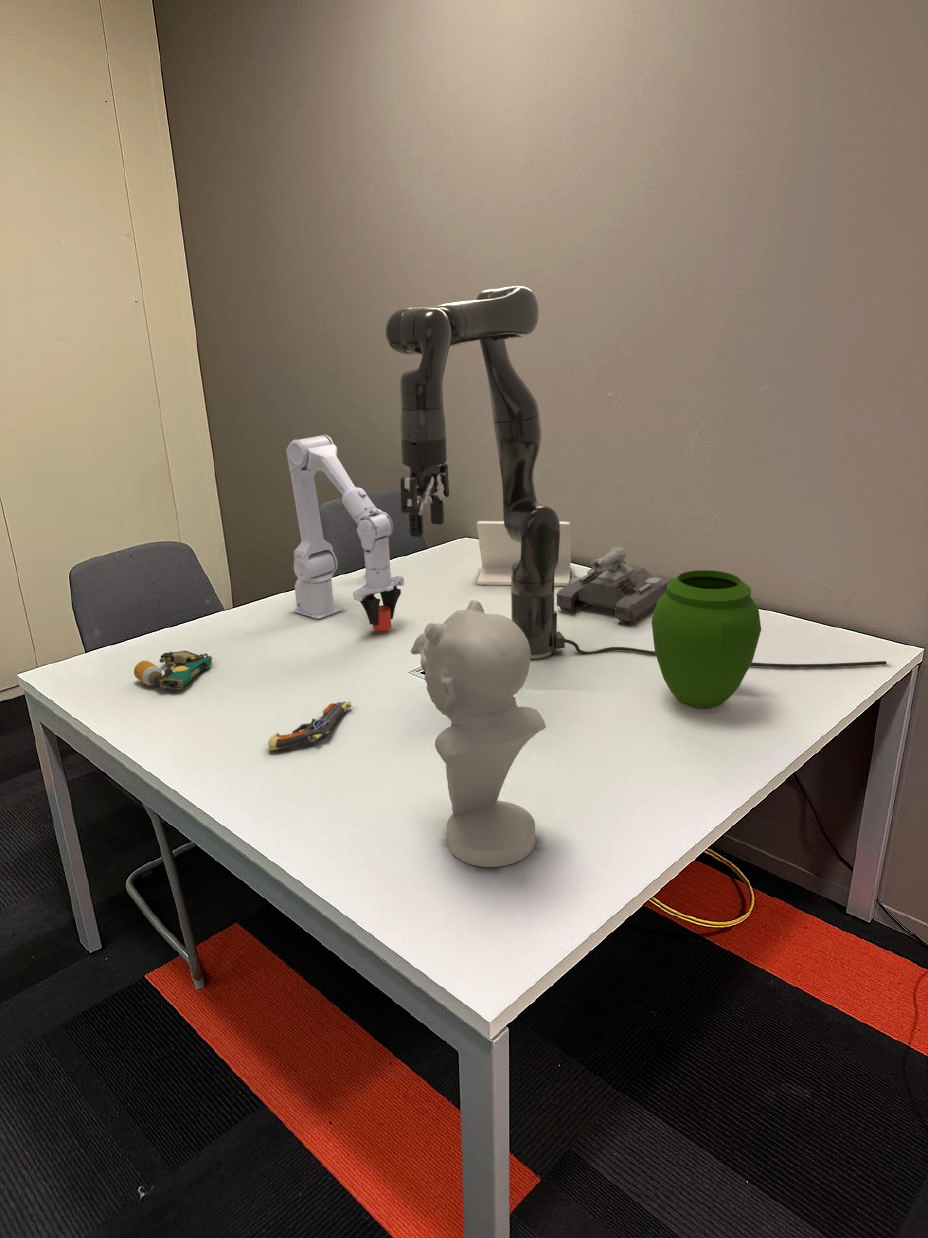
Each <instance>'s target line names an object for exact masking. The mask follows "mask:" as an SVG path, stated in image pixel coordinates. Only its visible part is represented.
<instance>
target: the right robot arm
mask: <svg viewBox="0 0 928 1238" xmlns="http://www.w3.org/2000/svg"><path fill="white" fill-rule="evenodd" d="M539 314H540V311H539V303H538V300H537V297H536V295H535V293H534V292H533V291H532V290H531V289H530V288H528V287H526V286H520V285H515V286H513V285H511V286H506V287H498V288H490V289H484V290H482V291H480V292H479V293H478V294H477V297H476V299H475V300H461V301H453V302H447V303H442V304H439V305H434V306H427V307H426V306H425V307H407V308H400V309H397V310H396V311H394V312H393V313H392V314H391V315H390V316H389V317H388V319H387V321H386V324H385V330H384V331H385V332H384V335H385V339H386V342H387V343H388V345H389V347H390V348H391V349H392V350H393V351H395V352H396V353H398V354H400V355H409V356H410V355H411V356H412V355H419V356H420V355H421V359H420V362H419V366H418V367H417V368H414V369H410V370H407V371H405V372H403V373H402V374H400V377H399V397H400V398H399V399H400V402H399V403H400V417H399V432H400V444H401V445H400V446H401V447H400V448H401V449H400V451H401V463H402V465H404V466H407V467H409V469H410V470H409V476H401V478H400V511H401V514H406V515H408V521H409V535H410V536H411V537H412V538H413V537H415V538H421V537H422V536H424V517H423V515H424V514H423V511H424V509H425V508H424V507H425V505H426V504H427V503H428V502H430V504H429V505H430V522H431V524H432V525H440V526H441V525H443V524H444V523H445V513H444V512H445V511H444V503H446V498H448V497H449V496H450V484H449V483H450V482H449V467H448V464H447V463H446V462H447V461H448V459H447V457H448V456H447V436H446V435H447V432H446V431H447V429H446V418H445V411H444V394H443V391H444V390H443V381H444V377H445V370H446V365H447V360H448V356H449V351H450V348H453V347H454V348H455V347H458V346H462V345H466V344H469V343H473V342H476V341H479V344H480V349H481V353H482V357H483V362H484V367H485V371H486V377H487V382H488V390H489V396H490V403H491V411H492V422H493V429H494V430H493V431H494V437H495V441H496V448H497V453H498V454H497V455H498V461H499V462H498V463H499V470H500V476H501V477H500V478H501V485H502V515H503V521H504V526H505V529H506V532H507V534H508V535H509V537H510V538H511V539H513V540H514V541H516V542H518V543H520V544H521V556H520V560H518V561H516V562H514V563H513V564H512V566H511V585H510V588H511V589H510V597H511V599H510V603H511V604H510V606H511V607H510V609H511V610H510V615H511V617H510V619H511V620H512V621H513V622H514V623H515V624H516V625H517V626H518V627H519V628H520V629H521V630H522V632H523V633H524V634H525V636H526V638H527V640H528V643H529V646H530V652H531V653H530V655H531V656H530V660H540V659H545V658H548V657H550V656H552V655H557V654H558V653H557V650H558V649H560V650H561V649H565V648H566V644H569V645H571V646H573V647H574V648H575V650H576V652H577V653H579V654H581V655H595V654H602V653H606V652H611V651H625V652H633V653H640V654H646V655H653V656H654V655H655V656H656V654H655V650H648V649H641V648H634V647H626V646H609V647H605V648H600V649H598V650H593V651H586V650H582V649H581V648H580V647H579V645H578V644H577V642H575V641H573V640H571V639H567V638H566V637H565V636H564V635H563V634H562V632H561V631H558V613H557V612H556V611H555V586H554V572H555V569H556V566H557V563H558V558H559V542H560V523H559V522H560V520H559V516H558V514H557V512H556V511H555V510H554V509H553V508H552V507H550V506H548V505H544V504H542V503H539V502H538V498H537V493H536V489H535V488H536V487H535V480H534V479H535V478H534V474H535V473H534V472H535V466H536V462H537V459H538V455H539V453H540V448H541V443H542V428H541V427H542V425H541V419H540V409H539V406H538V402H537V400H536V398H535V396H534V394H533V393H532V391H531V390H530V389H529V387H528V386H527V385H526V383H525V382H524V380H523V379H522V378H521V377H520V376H519V374H518V372H517V371H516V369H515V367H514V366H513V364H512V362H511V359H510V357H509V356H510V355H509V352H508V349H507V344H506V340H511V339H521V338H524V337H527V336H529V335H530V334H532V333H533V332H534V331H535V329H536V327H537V325H538V321H539ZM887 662H888V661H886V660H880V661H879V660H878V661H876V660H875V661H860V662H859V661H857V662H836V663H835V662H833V663H771V662H770V663H767V662H752V663H751V665H750V667H759V668H760V667H762V668H763V667H764V668H788V669H790V668H791V669H792V668H794V669H797V668H798V669H799V668H801V669H803V668H804V669H807V668H810V669H811V668H815V669H816V668H841V667H843V668H844V667H845V668H846V667H863V666H884V665H887Z"/></svg>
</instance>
